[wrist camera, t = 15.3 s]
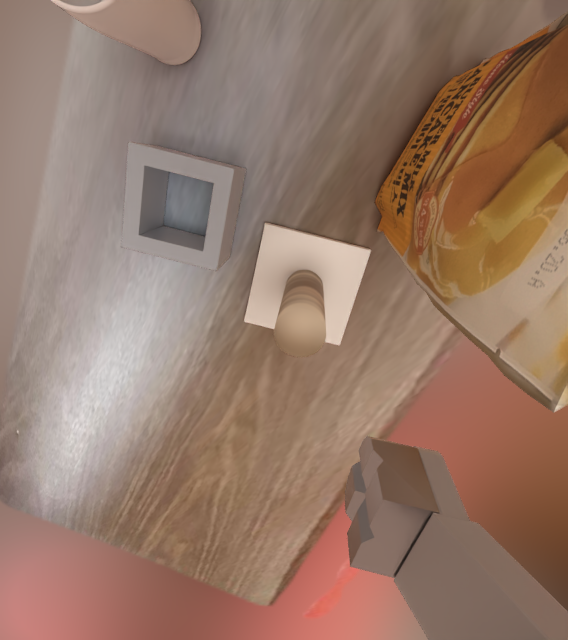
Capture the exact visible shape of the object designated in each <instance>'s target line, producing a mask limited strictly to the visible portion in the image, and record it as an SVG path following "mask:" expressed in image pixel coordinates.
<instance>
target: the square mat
mask: <svg viewBox="0 0 568 640" xmlns="http://www.w3.org/2000/svg"><path fill="white" fill-rule="evenodd" d="M370 252H371V250H370V249H369V248H365V247H361V246H358V245H354V244H350V243H346V242H342V241H338V240H334V239H330V238H326V237H322V236H318V235H315V234H311V233H307V232H303V231H299V230H295V229H291V228H287V227H283V226H279V225H275V224H272V223H268V222H266V223H265V226H264V231H263V236H262V240H261V245H260V250H259V254H258V259H257V264H256V268H255V273H254V277H253V282H252V287H251V291H250V296H249V301H248V305H247V310H246V315H245V319H244V322H247V323H251V324H255V325H259V326H263V327H267V328H271V329H274V328H275V324H276V320H277V316H278V313H279V309H280V305H281V301H282V297H283V293H284V290H285V286H286V282H287V280H288V278H289V277H290V276H291V275H292V274H293V273H294V272H296V271H299V270H310V271H312V272H314V273H316V274H317V275H318V276H319V277H320V278H321V280H322V283H323V291H324V307H325V323H326V339H325V342H327V343H331V344H335V345H339V346H340V343H341V340H342V337H343V334H344V331H345V328H346V325H347V322H348V319H349V316H350V313H351V310H352V307H353V304H354V301H355V298H356V295H357V292H358V289H359V286H360V283H361V280H362V277H363V274H364V271H365V268H366V265H367V262H368V259H369V255H370Z"/></svg>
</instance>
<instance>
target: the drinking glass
mask: <svg viewBox="0 0 568 640" xmlns="http://www.w3.org/2000/svg"><path fill="white" fill-rule="evenodd" d="M50 1H52V2H53V3H54V4H56V5H57V6H59V7H60V8H61V9H63V10H64V11H65V12H67V13H68V14H69V15H71V16H72V17H74V18H75V19H77V20H78V21H80V22H81V23H83V24H85V25H86V26H88V27H90V28H91V29H93V30H95V31H97V32H99V33H101V34H103V35H105V36H107V37H109V38H111V39H114V40H116V41H118V42H121V43H123V44H125V45H128V46H130V47H132V48H135V49H137V50H139V51H142V52H144V53H146V54H148V55H150V56H153V57H154V58H156V59H157V60H159V61H160V62H163V63H165V64H169V65H179V64H182V63H185V62H187V61H188V60H189V59H191V58H192V57H193V55H194V54H195V53H196V51H197V49H198V46H199V44H200V39H201V23H200V19H199V16H198V13H197V11H196V9H195V7H194V5H193V4H192V2H191V1H190V0H50Z"/></svg>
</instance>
